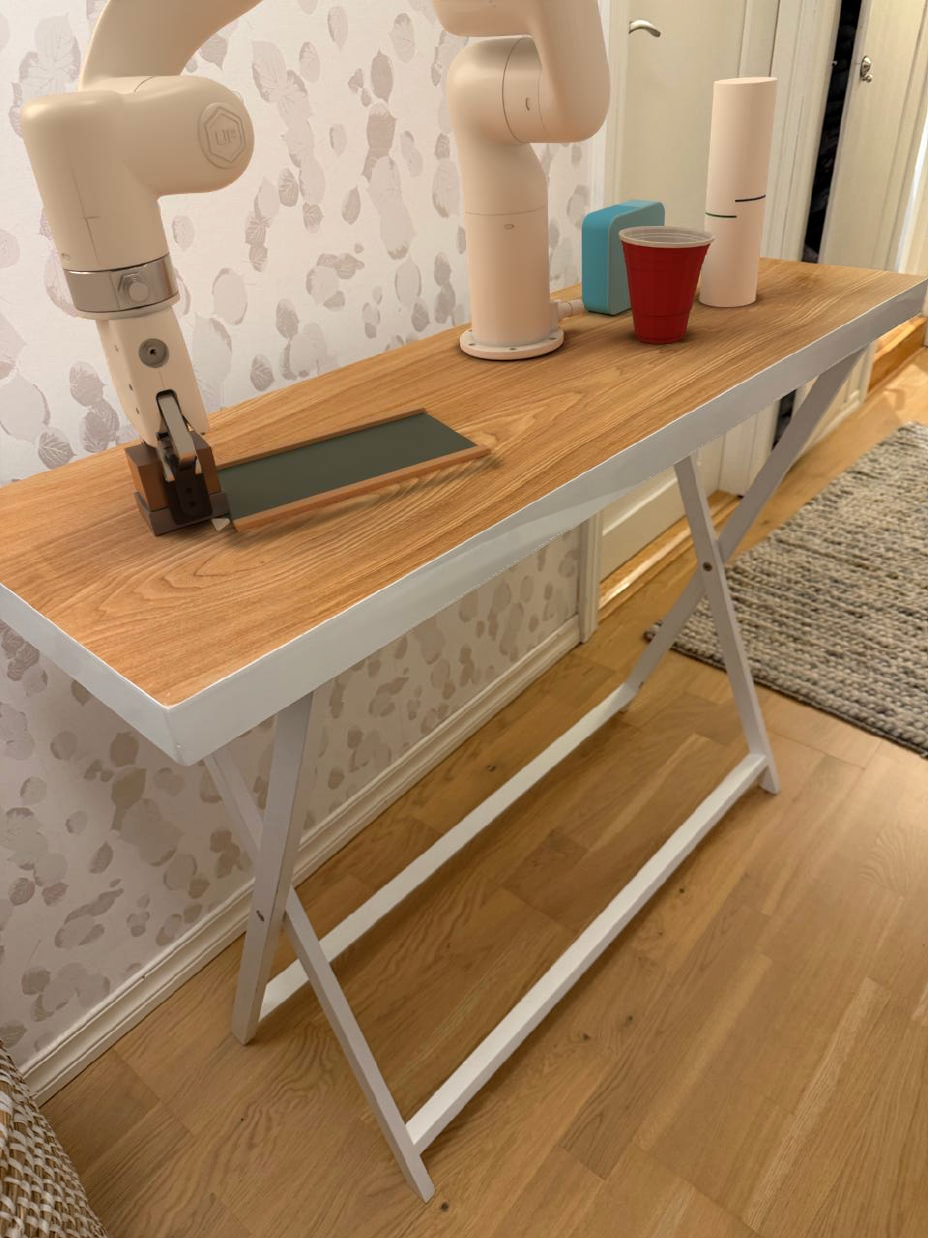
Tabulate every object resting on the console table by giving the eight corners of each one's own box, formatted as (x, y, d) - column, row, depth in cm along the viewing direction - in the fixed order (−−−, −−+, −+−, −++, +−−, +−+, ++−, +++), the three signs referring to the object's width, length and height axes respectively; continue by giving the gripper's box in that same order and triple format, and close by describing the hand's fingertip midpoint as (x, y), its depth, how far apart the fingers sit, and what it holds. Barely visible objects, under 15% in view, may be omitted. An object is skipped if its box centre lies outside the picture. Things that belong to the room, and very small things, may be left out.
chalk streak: (197, 522, 79) (195, 518, 78) (230, 521, 77) (228, 518, 76) (187, 534, 78) (185, 530, 78) (221, 534, 76) (218, 530, 75)
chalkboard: (420, 419, 95) (418, 403, 94) (491, 464, 85) (490, 447, 84) (193, 484, 86) (188, 467, 85) (241, 544, 76) (236, 525, 75)
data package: (634, 290, 128) (637, 196, 122) (662, 294, 126) (666, 199, 119) (580, 312, 121) (580, 215, 115) (608, 318, 119) (610, 218, 112)
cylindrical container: (761, 304, 119) (785, 80, 105) (705, 308, 119) (721, 85, 105) (748, 289, 125) (769, 75, 111) (694, 293, 125) (708, 80, 111)
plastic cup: (726, 340, 108) (735, 231, 102) (644, 356, 106) (648, 246, 99) (677, 317, 117) (682, 215, 110) (600, 332, 114) (601, 228, 108)
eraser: (139, 513, 79) (119, 448, 76) (213, 491, 82) (197, 427, 78) (154, 536, 75) (134, 468, 72) (231, 512, 78) (215, 446, 74)
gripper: (207, 297, 63) (260, 532, 73) (145, 256, 76) (198, 461, 86) (95, 321, 60) (167, 561, 70) (51, 273, 73) (117, 483, 83)
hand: (183, 504), depth 78 cm, fingers closed on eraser, 5 cm apart
